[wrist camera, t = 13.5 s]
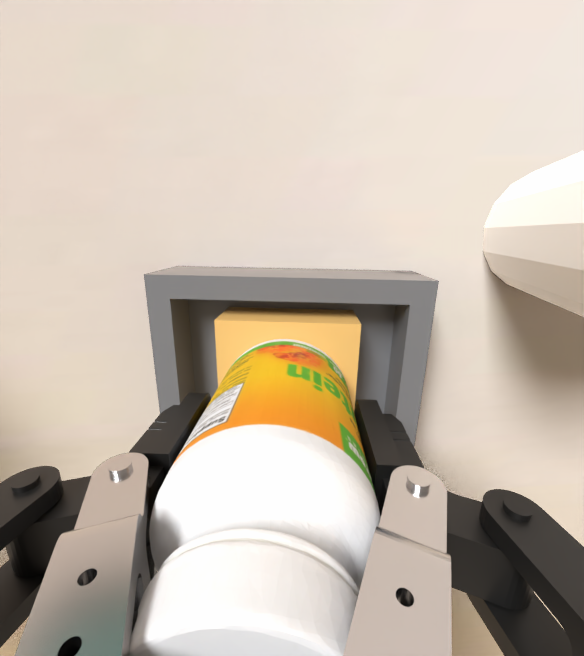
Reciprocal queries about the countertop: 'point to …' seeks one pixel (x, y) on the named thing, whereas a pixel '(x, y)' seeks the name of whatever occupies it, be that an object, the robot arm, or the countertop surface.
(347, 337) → the key
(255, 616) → the supplement bottle
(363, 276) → the keypad base
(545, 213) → the white cup
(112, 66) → the countertop surface
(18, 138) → the countertop surface
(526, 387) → the countertop surface
